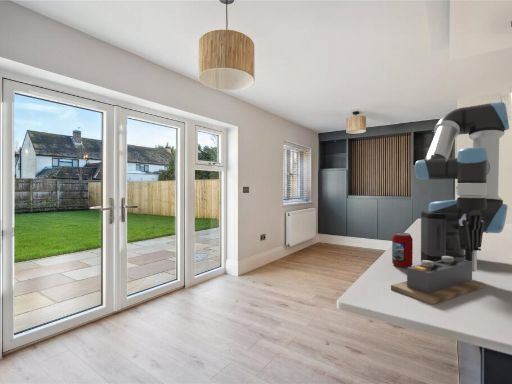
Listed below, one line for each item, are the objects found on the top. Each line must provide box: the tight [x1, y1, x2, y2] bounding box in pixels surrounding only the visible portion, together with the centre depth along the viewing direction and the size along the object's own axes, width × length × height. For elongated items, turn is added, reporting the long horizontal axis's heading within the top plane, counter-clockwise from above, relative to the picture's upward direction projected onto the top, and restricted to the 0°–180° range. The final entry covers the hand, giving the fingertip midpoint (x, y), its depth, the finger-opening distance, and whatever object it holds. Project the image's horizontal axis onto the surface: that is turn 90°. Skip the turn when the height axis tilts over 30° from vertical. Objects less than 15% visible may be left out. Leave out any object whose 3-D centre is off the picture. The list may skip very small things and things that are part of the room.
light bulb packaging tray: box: [406, 258, 473, 294], centre depth 83 cm, size 22×6×6 cm, turn 118°
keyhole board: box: [390, 256, 483, 305], centre depth 82 cm, size 24×12×8 cm, turn 118°
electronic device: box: [420, 210, 446, 262], centre depth 104 cm, size 9×6×20 cm, turn 168°
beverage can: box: [391, 232, 414, 268], centre depth 106 cm, size 7×7×12 cm
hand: (470, 270), depth 91 cm, fingers closed
